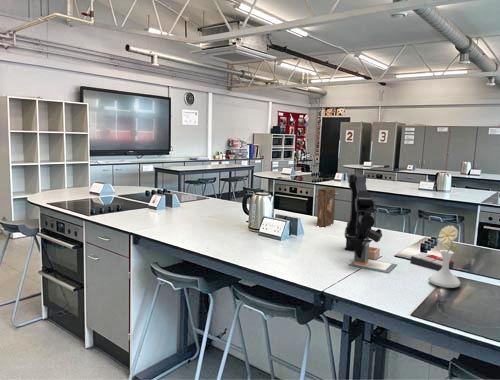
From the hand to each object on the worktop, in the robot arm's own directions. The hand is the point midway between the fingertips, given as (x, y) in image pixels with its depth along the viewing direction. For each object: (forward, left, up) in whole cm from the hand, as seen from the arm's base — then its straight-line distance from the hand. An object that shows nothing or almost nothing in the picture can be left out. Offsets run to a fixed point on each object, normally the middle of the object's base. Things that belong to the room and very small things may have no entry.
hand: (361, 256), depth 176 cm
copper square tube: (-1, +14, -4) cm, 15 cm away
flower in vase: (+36, -6, -4) cm, 37 cm away
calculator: (+27, +19, -4) cm, 33 cm away
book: (-48, +68, -4) cm, 83 cm away
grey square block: (0, 0, -3) cm, 3 cm away
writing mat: (+5, +2, -4) cm, 7 cm away
